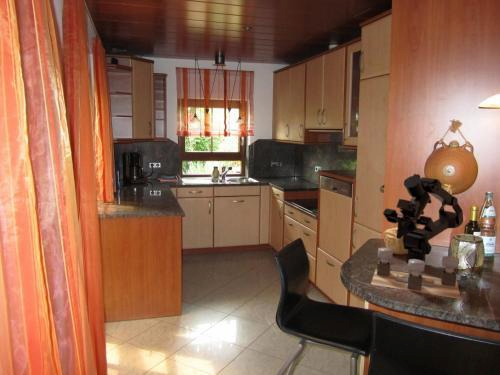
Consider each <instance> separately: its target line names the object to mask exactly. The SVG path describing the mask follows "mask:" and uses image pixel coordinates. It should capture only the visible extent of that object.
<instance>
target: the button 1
mask: <svg viewBox="0 0 500 375" xmlns="http://www.w3.org/2000/svg"><path fill="white" fill-rule="evenodd" d="M393 255H394V253H393V250H392V249H389V248H387V247H379V248H378V249H377V257H378V258H380V260H381V264H386V265H388V262H389V260H390V259H392V258H393Z"/></svg>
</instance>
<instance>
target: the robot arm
mask: <svg viewBox="0 0 500 375" xmlns="http://www.w3.org/2000/svg"><path fill="white" fill-rule="evenodd" d="M403 186H404V187H405V189H406V191H407V193H408V195H409V196H410V197H411V199H410V200H408V199H402V198H399V199H398V201H397V204H396V208H397V209H399V213H398V212H397V210H396V209H393V208H385V209H384V210H383V212H382V215H383V216H384V218H385V219H386V221H387V222H388V223H392V224H397V227H398V229H397V236H396V237H397V238H398V239H400V238H401V237H403V245H404V249H407V250H408V253H407V254H406V264H408V262H409V260H410V259H417V260H421V261H424V262H425V263H426V257H427V255H430V253H431V251H432V245H431V243H430V242H429V241H430V240H431V239H433V238H435V237H436V236H438V235H439V234H441V233H442V232H444V231H446V230H448V229H457V228H459V227H460V226H461V225H462V224H463V223H464V213H463V211H464V210H463V209H462V208H461V206H460V204H459V203H458V202H459V201H458V200H459V199H458V198H457V197H456V196H453V194H452V193H450V192H448V190H446V189H444V188H443V187H442V186H443V184H442V182H441V181H440V179H437V178H433V177H432V178H431V177H424V176H422V177H421V175H420V174H418V173H414V174H413V175H411V176H408V177H407V178H405V179H404V181H403ZM432 197H434V198H435V199H437V200H438V201H440V203H441V206H440V208H439V209H438V219H437V220H434V221H433V219H432V217H430V216H425V211H424V210H425V209H426V207H427V205H428V204H432V199H431V198H432ZM446 206H450V207H451V208H452V209H453V211H450V210H445V207H446ZM420 226H424V227H423V228H419V227H420Z"/></svg>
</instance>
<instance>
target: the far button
mask: <svg viewBox="0 0 500 375" xmlns="http://www.w3.org/2000/svg"><path fill="white" fill-rule="evenodd" d="M425 267H426V261H425V262H424V261H421V260H417V259H410V260H409V262H408V263H407V269H408V270H409V271H411V273H412V276H411V277H416V278H419V275H420V274H421V273H422V272H425Z"/></svg>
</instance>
